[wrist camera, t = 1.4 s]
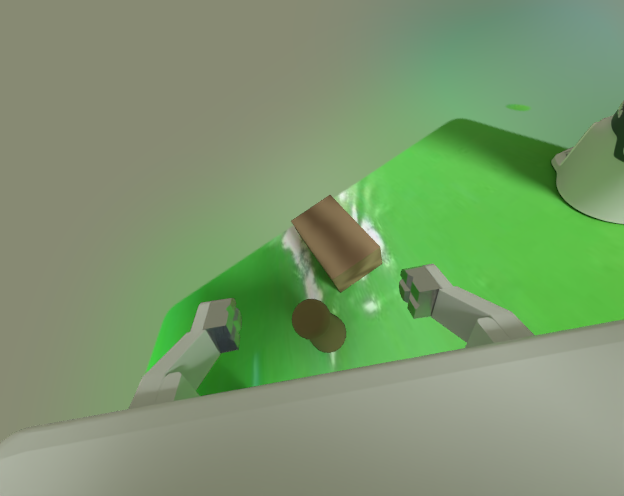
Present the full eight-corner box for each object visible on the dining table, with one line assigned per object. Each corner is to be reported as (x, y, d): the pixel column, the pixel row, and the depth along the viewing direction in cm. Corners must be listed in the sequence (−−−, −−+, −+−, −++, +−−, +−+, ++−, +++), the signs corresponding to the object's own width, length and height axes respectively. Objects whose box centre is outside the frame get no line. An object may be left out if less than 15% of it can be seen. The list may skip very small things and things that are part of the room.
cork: (305, 323, 42) (279, 304, 33) (337, 308, 42) (320, 285, 33) (318, 359, 39) (293, 348, 30) (352, 342, 39) (338, 327, 30)
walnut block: (336, 213, 52) (330, 194, 47) (382, 263, 44) (380, 247, 39) (301, 237, 52) (291, 220, 47) (340, 292, 43) (332, 279, 38)
